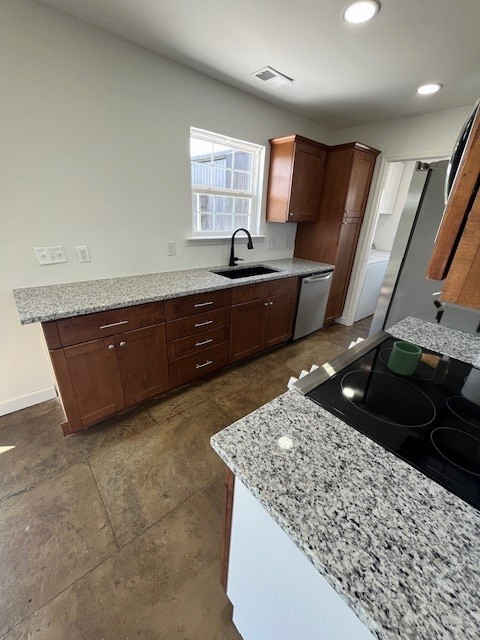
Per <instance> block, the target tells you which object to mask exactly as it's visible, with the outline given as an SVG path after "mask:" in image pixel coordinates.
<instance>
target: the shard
mask: <svg viewBox="0 0 480 640" xmlns="http://www.w3.org/2000/svg"><path fill="white" fill-rule="evenodd" d="M421 355H422V357H420V361H421V362H422V363H425V365H428V366H430V368H433V369H434V370H435V369H436V366H437V364H438V361H439V359H440V358H441V357H439V356H437V355H433V354H428V353H422V352H421ZM448 373H449V370H448V369H447V372H446V374H445V375H447V374H448Z"/></svg>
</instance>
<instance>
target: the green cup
mask: <svg viewBox="0 0 480 640" xmlns="http://www.w3.org/2000/svg"><path fill="white" fill-rule="evenodd" d="M421 355H422V348H421V347H419V346H418V345H416V344H415V343H410V342H408V341H407V342H406V341H395V342H394V343H393V344H392V349H391V352H390V355H389V358H388V362H387V367H388V369H389V370H390V371H392V372H394V373H395V374H399V375H402V376H412V375H414V373H415V372H416V369H417V366H418V363H419V361H420V359H421Z"/></svg>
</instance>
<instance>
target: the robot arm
mask: <svg viewBox="0 0 480 640" xmlns="http://www.w3.org/2000/svg"><path fill="white" fill-rule="evenodd" d="M441 292H442V291H439V292H436V293H433V294H432V295H431V298H432V302H433V305H434V306H435V308H436V309H437V313H436V316H435V318H434V320H436V324H440V323H441V320H442V318H443V315H444V312H445V310H446V309H448V308H450V309H454V310H458V311H461V312H468V313H473V314H479V315H480V311H478V310H474V309H471V308H466V307H461V306H458V305H455V304H452V303H447V302H445V301H444V302H443V303H441V302H440V300H439V298H440V297H439V295H440V293H441ZM475 333H476V334H480V320H479V322H478V324H477V326H476V328H475Z"/></svg>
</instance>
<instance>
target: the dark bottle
mask: <svg viewBox="0 0 480 640" xmlns="http://www.w3.org/2000/svg"><path fill="white" fill-rule="evenodd" d="M450 356H451V354H449V353H446V352H445V353H444V354H443V357H442V356H441V357H439V358H440V359H439V361H438V364H437V366H436V369H435V368H434V371H433V374H432V377H431V379H430V381H431V382H432V383H433V384H435V385H442V384H443V381H444V379H445V376H446V375H447V374H446V372H447V370H448V369H449V367H450V365H451V362H452V361H451V360H450Z"/></svg>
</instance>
